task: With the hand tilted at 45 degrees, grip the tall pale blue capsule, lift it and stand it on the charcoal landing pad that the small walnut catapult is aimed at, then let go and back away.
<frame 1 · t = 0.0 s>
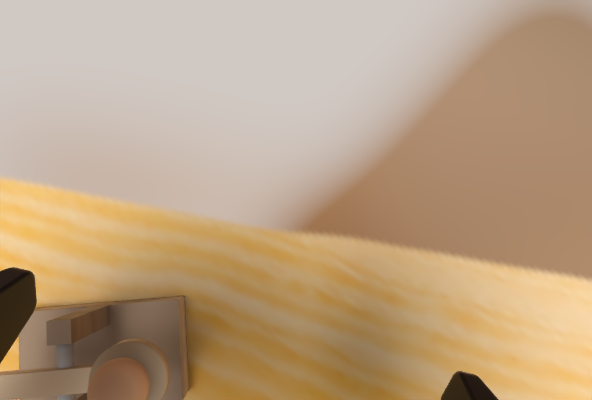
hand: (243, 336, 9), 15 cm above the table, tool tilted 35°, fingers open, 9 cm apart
catapult: (111, 348, 23), on the table
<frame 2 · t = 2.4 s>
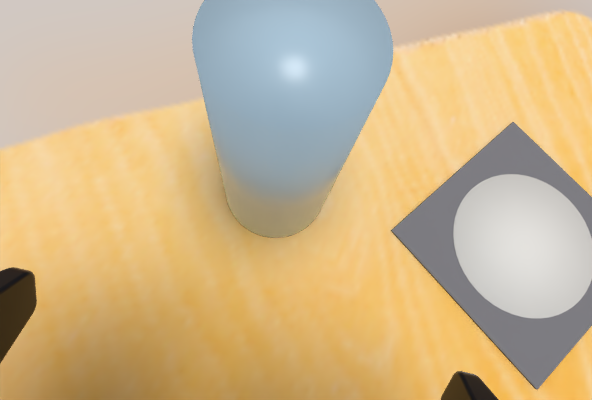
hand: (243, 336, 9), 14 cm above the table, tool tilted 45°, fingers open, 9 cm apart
pale blue capsule: (275, 189, 24), on the table
landing pad: (523, 243, 25), on the table
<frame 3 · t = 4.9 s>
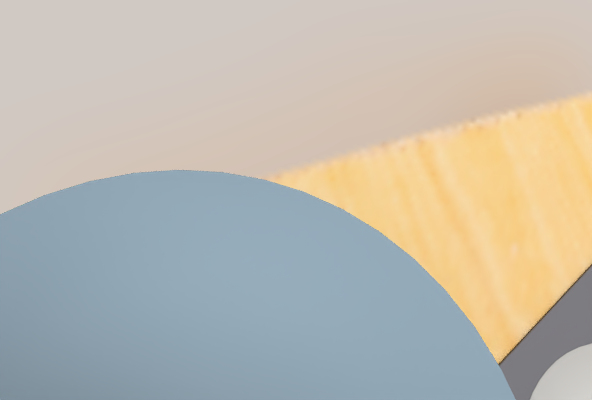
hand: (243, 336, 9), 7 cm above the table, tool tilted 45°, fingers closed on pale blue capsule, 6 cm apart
pale blue capsule: (239, 375, 15), on the table, touching gripper
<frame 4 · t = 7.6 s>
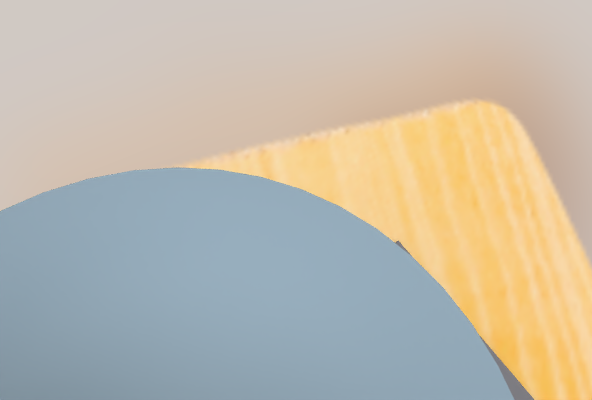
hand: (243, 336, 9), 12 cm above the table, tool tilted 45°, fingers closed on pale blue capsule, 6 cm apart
pale blue capsule: (238, 374, 15), point 5 cm above the table, touching gripper
landing pad: (391, 399, 20), on the table
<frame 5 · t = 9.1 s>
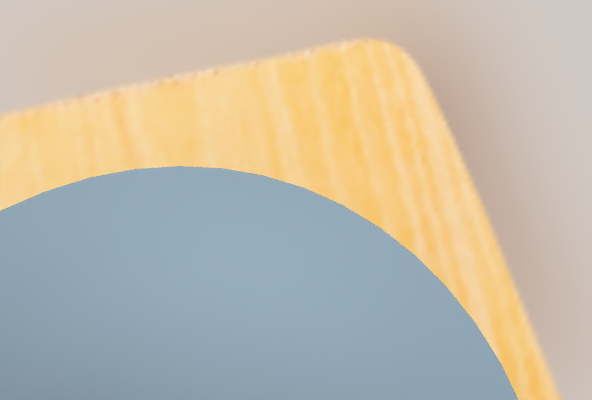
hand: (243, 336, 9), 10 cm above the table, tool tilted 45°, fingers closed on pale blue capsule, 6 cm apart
pale blue capsule: (239, 374, 15), point 3 cm above the table, touching gripper
when the fingers open (8 cm above the table, at t = 10.2 s): pale blue capsule stays where it is, resting on landing pad.
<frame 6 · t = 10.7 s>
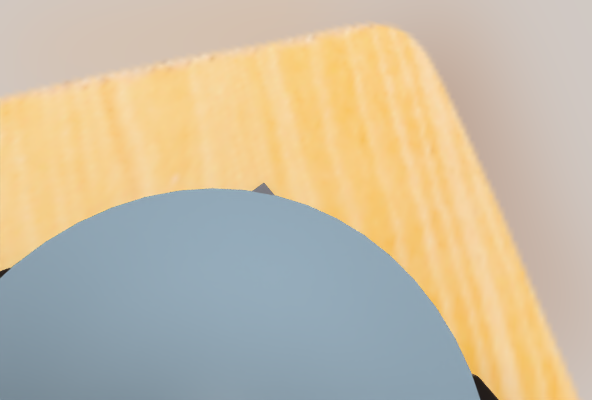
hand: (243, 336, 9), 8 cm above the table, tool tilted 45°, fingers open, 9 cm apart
pale blue capsule: (240, 373, 16), resting on landing pad
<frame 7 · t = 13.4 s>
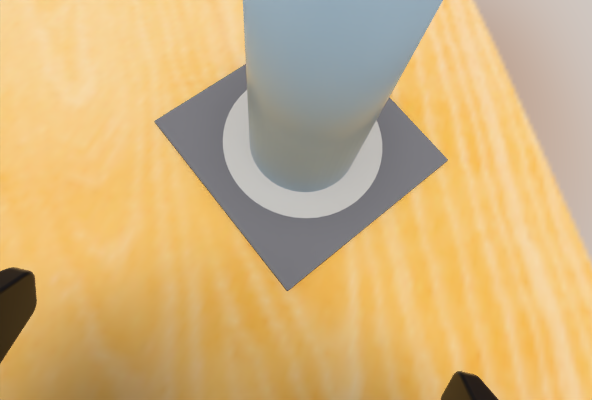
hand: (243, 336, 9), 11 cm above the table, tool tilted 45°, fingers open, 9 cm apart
pale blue capsule: (303, 141, 22), resting on landing pad
landing pad: (303, 141, 22), on the table
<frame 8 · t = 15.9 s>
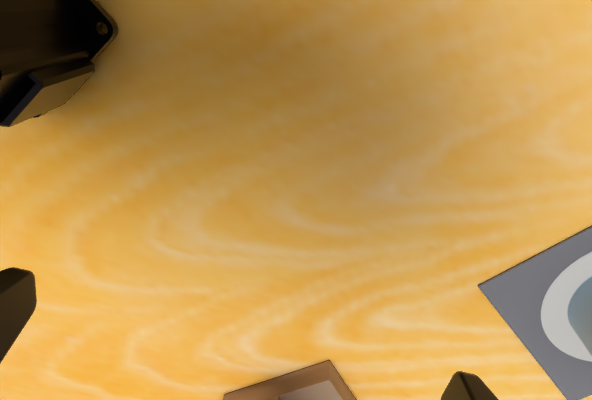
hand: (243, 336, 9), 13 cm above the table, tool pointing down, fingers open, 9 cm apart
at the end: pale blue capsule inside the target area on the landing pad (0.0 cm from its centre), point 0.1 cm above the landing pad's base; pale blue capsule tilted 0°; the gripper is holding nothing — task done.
